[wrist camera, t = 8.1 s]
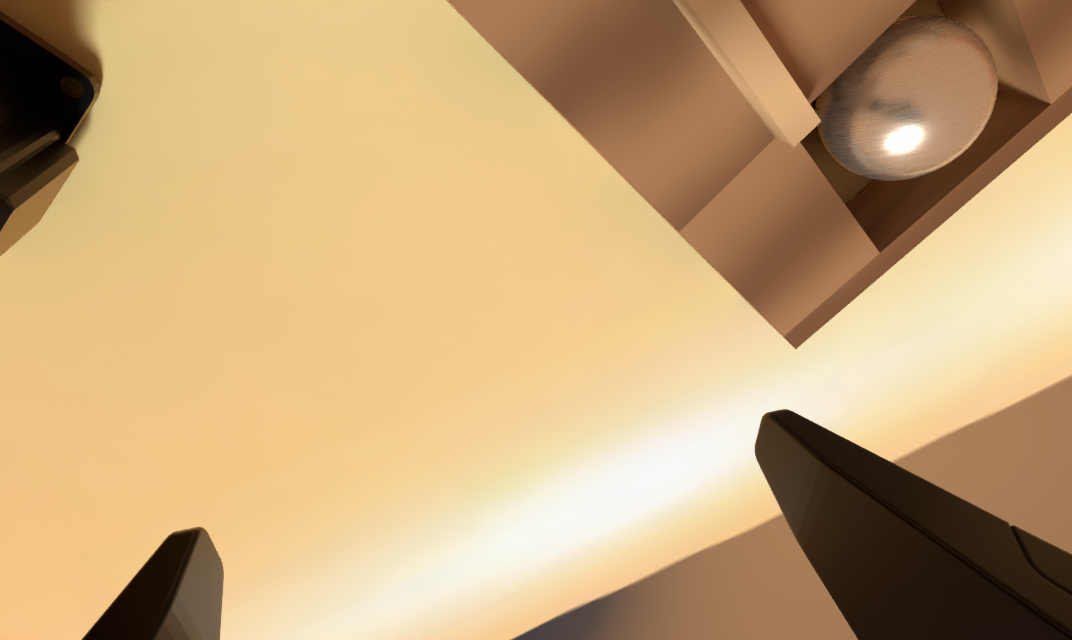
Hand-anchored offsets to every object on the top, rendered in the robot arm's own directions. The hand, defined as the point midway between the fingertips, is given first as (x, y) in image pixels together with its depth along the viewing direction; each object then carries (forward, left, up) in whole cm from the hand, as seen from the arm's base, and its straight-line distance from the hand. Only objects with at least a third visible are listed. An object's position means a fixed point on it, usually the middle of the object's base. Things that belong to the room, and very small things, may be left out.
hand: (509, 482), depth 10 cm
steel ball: (+9, +13, -10) cm, 18 cm away
